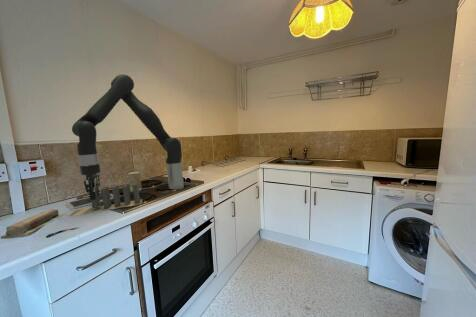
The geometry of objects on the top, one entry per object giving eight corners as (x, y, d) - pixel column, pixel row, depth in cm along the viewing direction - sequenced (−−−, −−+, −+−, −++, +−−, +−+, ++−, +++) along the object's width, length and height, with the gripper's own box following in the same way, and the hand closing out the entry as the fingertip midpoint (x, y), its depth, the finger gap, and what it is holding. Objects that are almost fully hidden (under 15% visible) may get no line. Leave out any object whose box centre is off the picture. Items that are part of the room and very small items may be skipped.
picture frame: (109, 195, 121) (65, 206, 105) (108, 191, 121) (64, 201, 105) (117, 200, 111) (71, 212, 95) (117, 195, 111) (70, 207, 95)
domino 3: (121, 203, 100) (118, 185, 99) (119, 206, 96) (116, 187, 94) (117, 204, 100) (114, 185, 98) (114, 207, 95) (111, 188, 94)
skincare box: (130, 192, 124) (127, 173, 123) (131, 190, 128) (129, 172, 127) (140, 190, 126) (138, 172, 124) (142, 189, 130) (140, 171, 128)
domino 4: (130, 202, 102) (128, 183, 101) (129, 205, 97) (126, 186, 96) (126, 202, 101) (124, 184, 100) (125, 205, 97) (122, 186, 95)
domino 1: (92, 208, 92) (89, 188, 90) (95, 205, 96) (92, 185, 95) (97, 207, 92) (93, 187, 91) (100, 204, 97) (97, 185, 95)
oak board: (142, 201, 105) (142, 199, 105) (141, 205, 98) (141, 203, 98) (75, 212, 95) (75, 209, 94) (68, 218, 87) (68, 216, 87)
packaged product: (26, 225, 72) (-3, 227, 71) (28, 237, 73) (0, 239, 72) (65, 207, 90) (42, 208, 89) (66, 216, 91) (44, 218, 90)
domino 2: (111, 205, 99) (108, 186, 97) (108, 208, 94) (105, 189, 93) (106, 205, 98) (103, 187, 97) (104, 209, 93) (101, 189, 92)
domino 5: (140, 200, 103) (137, 182, 102) (139, 203, 99) (136, 184, 98) (136, 201, 103) (133, 183, 101) (135, 204, 98) (132, 185, 97)
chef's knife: (105, 218, 86) (101, 217, 88) (105, 216, 86) (101, 214, 87) (48, 240, 70) (45, 238, 71) (48, 237, 69) (44, 235, 71)
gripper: (85, 162, 97) (90, 195, 99) (73, 166, 83) (79, 204, 86) (103, 161, 99) (107, 192, 102) (94, 165, 86) (99, 201, 88)
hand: (95, 197), depth 94 cm, fingers closed on domino 1, 5 cm apart
